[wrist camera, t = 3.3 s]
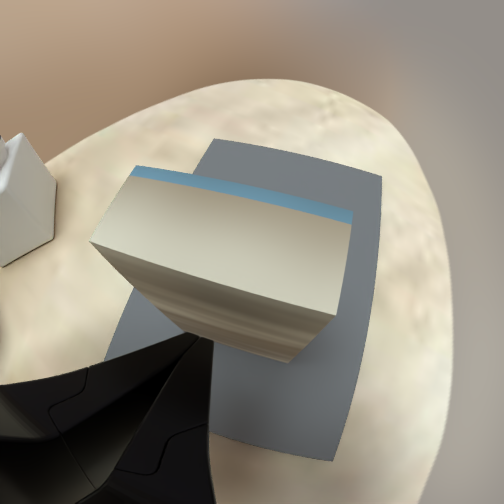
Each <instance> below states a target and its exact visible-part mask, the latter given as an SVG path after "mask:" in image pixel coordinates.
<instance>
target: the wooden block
mask: <svg viewBox="0 0 504 504" xmlns="http://www.w3.org/2000/svg"><path fill="white" fill-rule="evenodd" d="M352 218H353V211H350V210H347V209H343V208H339V207H336V206H332V205H328V204H325V203H321V202H317V201H313V200H309V199H305V198H301V197H297V196H293V195H289V194H284V193H280V192H276V191H272V190H267V189H263V188H258V187H254V186H249V185H244V184H240V183H235V182H230V181H225V180H220V179H215V178H209V177H204V176H199V175H193V174H188V173H182V172H176V171H170V170H164V169H158V168H151V167H145V166H138V165H136V166H135V168H134V169H133V171H132V172H131V174H130V175H129V177H128V178H127V179H126V181H125V182H124V184H123V185H122V187H121V188H120V190H119V192H118V193H117V195H116V196H115V198H114V199H113V201H112V202H111V204H110V206H109V207H108V209H107V211H106V212H105V214H104V216H103V217H102V219H101V221H100V222H99V224H98V226H97V227H96V229H95V231H94V233H93V234H92V236H91V238H90V240H89V242H90V243H91V244H92V245H93V246H94V247H95V248H96V249H97V250H98V251H99V252H100V253H101V255H102V256H103V257H104V258H105V259H106V260H107V261H108V262H109V263H110V264H111V265H112V266H113V267H114V268H115V269H116V270H117V271H118V272H119V273H120V274H121V275H122V276H123V277H124V278H125V279H126V280H127V281H128V282H129V283H130V284H131V285H133V286H134V287H135V288H136V289H137V290H138V291H139V292H140V293H141V294H142V295H143V296H144V297H145V298H146V299H147V300H149V301H150V302H151V303H152V304H153V305H154V306H155V307H156V308H157V309H158V310H160V311H161V312H162V313H163V314H164V315H165V316H166V317H168V318H169V319H170V320H171V321H172V322H173V323H174V324H176V325H177V326H178V327H179V328H180V329H182V330H183V331H185V332H191V333H194V334H196V335H199V336H200V337H205V338H208V339H211V340H213V341H214V342H217V343H220V344H223V345H226V346H229V347H232V348H235V349H239V350H242V351H245V352H249V353H252V354H255V355H259V356H262V357H266V358H269V359H273V360H277V361H280V362H284V363H289V362H290V361H291V360H292V359H293V358H294V357H295V356H296V355H297V354H298V353H299V352H300V351H301V350H302V349H304V348H305V347H306V346H307V345H308V344H309V343H310V342H311V341H312V340H313V339H314V338H315V337H316V336H317V335H318V334H319V333H320V332H321V331H322V330H323V328H324V327H325V326H326V325H327V324H328V323H329V322H330V321H331V320H332V319H333V318H334V317H335V316H336V313H337V308H338V303H339V298H340V293H341V288H342V283H343V277H344V272H345V266H346V260H347V253H348V247H349V240H350V233H351V226H352Z"/></svg>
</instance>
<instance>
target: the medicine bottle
mask: <svg viewBox="0 0 504 504" xmlns="http://www.w3.org/2000/svg"><path fill="white" fill-rule="evenodd" d="M56 184H57V183H56V180H55V179H54V178H53V176H52V175H51V174H50V172H49V171H48V169H47V168H46V166H45V165H44V164H43V162H42V161H41V159H40V158H39V156H38V155H37V154H36V152H35V151H34V149H33V147H32V146H31V144H30V143H29V141H28V140H27V138H26V137H25V135H24V134H23V133H19V134H18V135H16V136H15V137H14V138H12V139H11V140H9V141H8V142H6V143H5V142H4V140H3V138H2V137H1V135H0V266H1V267H3V266H5V265H7V264H8V263H10V262H12V261H13V260H15V259H17V258H19V257H20V256H22V255H24V254H26V253H27V252H29V251H31V250H33V249H35V248H37V247H38V246H40V245H42V244H44V243H46V242H48V241H50V240H52V239H53V236H54V210H55V195H56Z"/></svg>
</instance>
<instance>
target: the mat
mask: <svg viewBox="0 0 504 504" xmlns="http://www.w3.org/2000/svg"><path fill="white" fill-rule="evenodd" d="M193 175H199V176H204V177H209V178H215V179H220V180H225V181H230V182H235V183H240V184H244V185H249V186H254V187H258V188H263V189H267V190H272V191H276V192H280V193H284V194H289V195H293V196H297V197H301V198H305V199H309V200H313V201H317V202H321V203H325V204H328V205H332V206H336V207H339V208H343V209H347V210H350V211H353V218H352V226H351V233H350V240H349V247H348V253H347V260H346V266H345V272H344V277H343V283H342V288H341V293H340V298H339V303H338V308H337V313H336V316H335V317H334V318H333V319H332V320H331V321H330V322H329V323H328V324H327V325H326V326H325V327H324V328H323V330H322V331H321V332H320V333H319V334H318V335H317V336H316V337H315V338H314V339H313V340H312V341H311V342H310V343H309V344H308V345H307V346H306V347H305V348H304V349H302V350H301V351H300V352H299V353H298V354H297V355H296V356H295V357H294V358H293V359H292V360H291V361H290V362H289V363H284V362H280V361H277V360H273V359H269V358H266V357H262V356H259V355H255V354H252V353H249V352H245V351H242V350H239V349H235V348H232V347H229V346H226V345H223V344H220V343H217V342H214V354H213V369H212V385H211V402H210V421H209V432H212V433H215V434H218V435H221V436H224V437H227V438H230V439H233V440H236V441H240V442H243V443H247V444H250V445H254V446H258V447H261V448H265V449H269V450H274V451H278V452H282V453H287V454H292V455H297V456H302V457H307V458H313V459H319V460H326V461H333V459H334V456H335V453H336V451H337V448H338V445H339V442H340V439H341V436H342V432H343V429H344V426H345V423H346V419H347V416H348V412H349V409H350V405H351V402H352V398H353V394H354V390H355V386H356V382H357V378H358V374H359V370H360V365H361V361H362V356H363V351H364V346H365V341H366V336H367V331H368V325H369V319H370V313H371V307H372V300H373V293H374V285H375V277H376V269H377V259H378V248H379V236H380V220H381V196H382V176H379V175H376V174H373V173H370V172H366V171H363V170H359V169H356V168H352V167H349V166H345V165H341V164H338V163H334V162H330V161H326V160H322V159H318V158H314V157H310V156H305V155H301V154H297V153H292V152H288V151H283V150H278V149H273V148H268V147H263V146H257V145H252V144H246V143H240V142H234V141H228V140H221V139H213V141H212V143H211V144H210V146H209V147H208V149H207V151H206V152H205V154H204V155H203V157H202V159H201V160H200V162H199V164H198V165H197V167H196V169H195V171H194V172H193ZM184 332H185V331H183V330H182V329H180V328H179V327H178V326H177V325H176V324H174V323H173V322H172V321H171V320H170V319H169V318H168V317H166V316H165V315H164V314H163V313H162V312H161V311H160V310H158V309H157V308H156V307H155V306H154V305H153V304H152V303H151V302H150V301H149V300H147V299H146V298H145V297H144V296H143V295H142V294H141V293H140V292H139V291H138V290H137V289H136V288H135V287H134V288H133V291H132V293H131V295H130V297H129V300H128V302H127V304H126V306H125V309H124V311H123V314H122V316H121V318H120V321H119V323H118V326H117V328H116V331H115V333H114V336H113V338H112V341H111V343H110V346H109V348H108V351H107V354H106V356H105V359H104V361H107V360H110V359H113V358H116V357H119V356H121V355H124V354H127V353H130V352H133V351H136V350H139V349H141V348H144V347H147V346H150V345H152V344H155V343H158V342H161V341H163V340H166V339H169V338H171V337H174V336H177V335H179V334H182V333H184Z"/></svg>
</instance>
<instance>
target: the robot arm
mask: <svg viewBox="0 0 504 504" xmlns="http://www.w3.org/2000/svg"><path fill="white" fill-rule="evenodd" d="M213 354H214V341H213V340H211V339H208V338H205V337H200V336H199V335H196V334H194V333H191V332H184V333H182V334H179V335H177V336H174V337H171V338H169V339H166V340H163V341H161V342H158V343H155V344H152V345H150V346H147V347H144V348H141V349H139V350H136V351H133V352H130V353H127V354H124V355H121V356H119V357H116V358H113V359H110V360H107V361H104V362H101V363H98V364H95V365H92V366H89V368H88V367H85V368H82V369H79V370H76V371H72V372H69V373H65V374H62V375H58V376H53V377H48V378H43V379H38V380H32V381H26V382H20V383H13V384H7V385H0V504H217V503H216V498H215V492H214V486H213V481H212V475H211V467H210V458H209V421H210V402H211V385H212V369H213Z"/></svg>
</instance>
